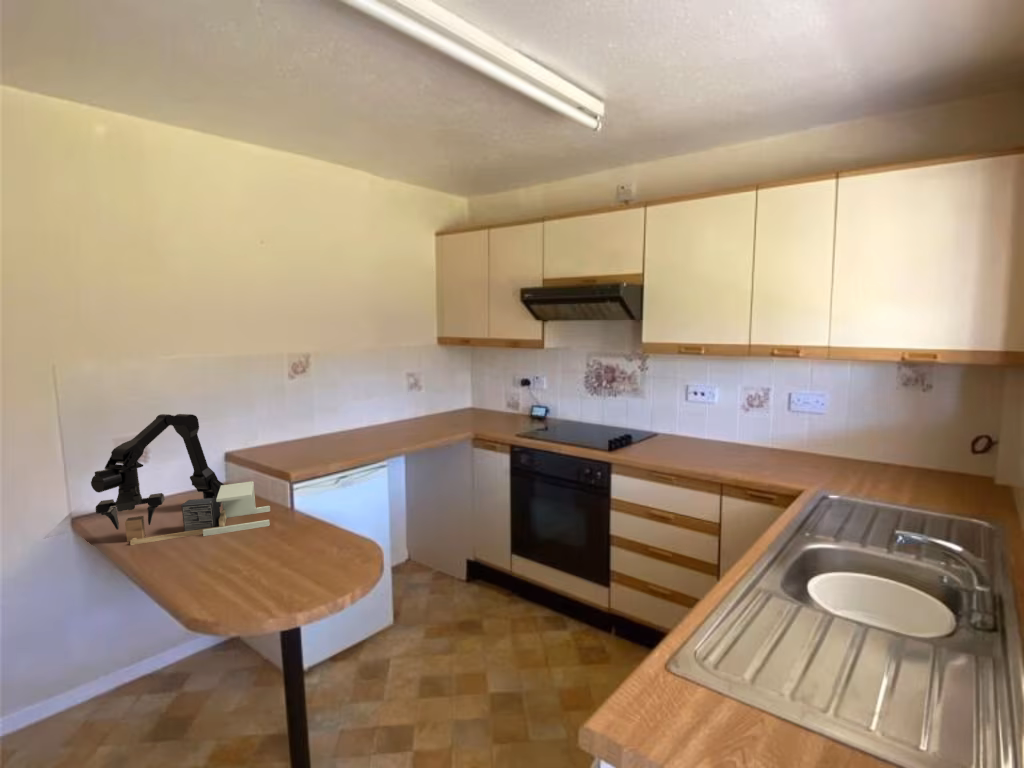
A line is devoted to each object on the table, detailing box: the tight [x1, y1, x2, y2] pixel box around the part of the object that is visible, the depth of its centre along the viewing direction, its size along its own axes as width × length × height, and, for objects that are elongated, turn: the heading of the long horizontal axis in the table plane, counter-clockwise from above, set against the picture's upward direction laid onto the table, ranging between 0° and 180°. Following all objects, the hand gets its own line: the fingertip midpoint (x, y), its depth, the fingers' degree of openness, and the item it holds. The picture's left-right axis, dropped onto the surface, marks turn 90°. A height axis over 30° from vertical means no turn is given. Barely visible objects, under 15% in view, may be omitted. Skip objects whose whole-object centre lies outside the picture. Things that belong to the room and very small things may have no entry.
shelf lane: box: [202, 480, 271, 537], centre depth 200 cm, size 17×21×12 cm
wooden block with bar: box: [124, 509, 227, 546], centre depth 193 cm, size 12×29×7 cm, turn 113°
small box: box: [180, 498, 221, 532], centre depth 195 cm, size 11×6×10 cm, turn 99°
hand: (133, 526), depth 188 cm, fingers open, 9 cm apart
